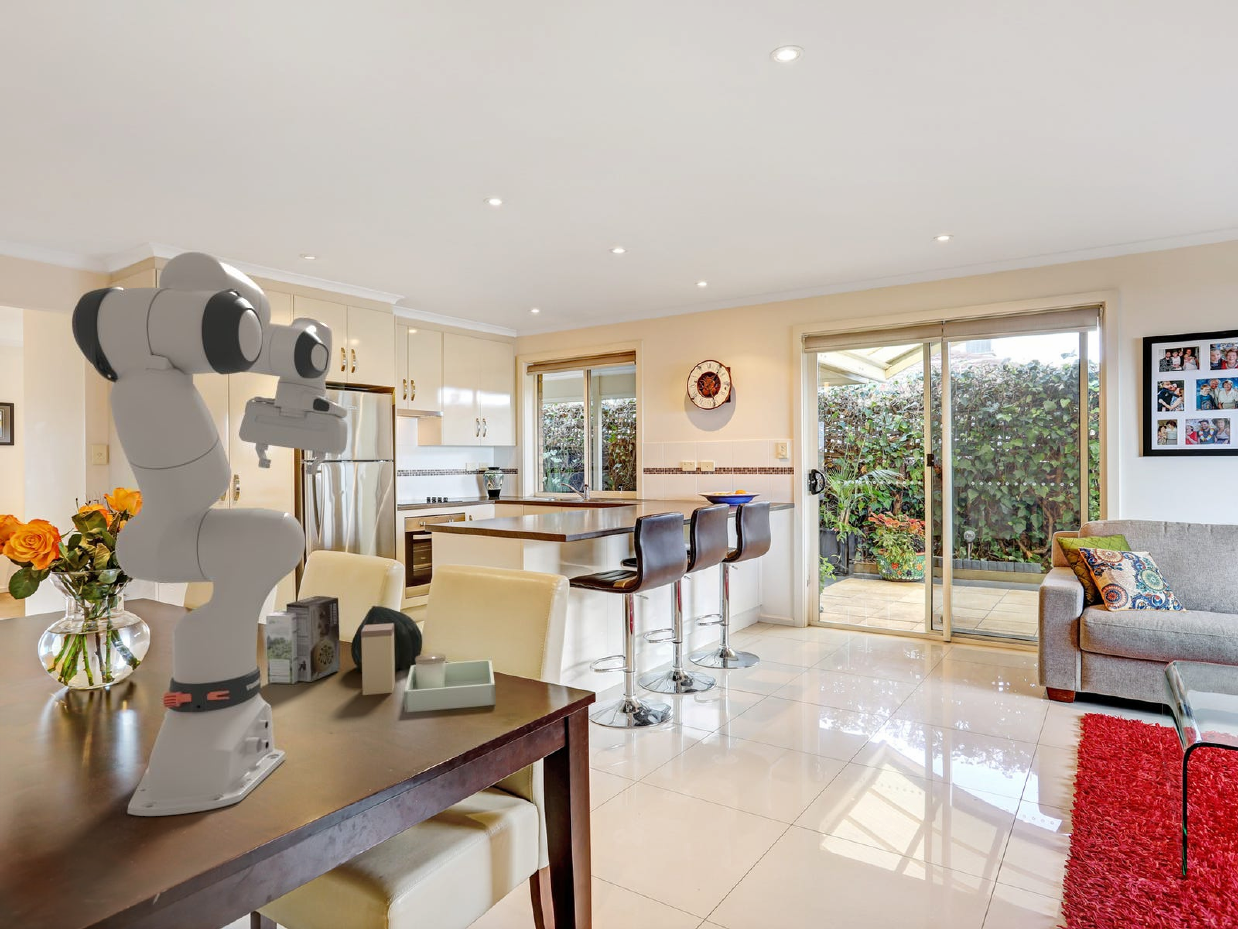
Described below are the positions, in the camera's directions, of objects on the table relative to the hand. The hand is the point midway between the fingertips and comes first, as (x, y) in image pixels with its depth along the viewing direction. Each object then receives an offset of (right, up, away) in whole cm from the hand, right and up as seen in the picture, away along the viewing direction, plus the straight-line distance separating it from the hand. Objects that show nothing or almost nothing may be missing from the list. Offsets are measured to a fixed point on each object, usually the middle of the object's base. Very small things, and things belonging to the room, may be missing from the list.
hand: (287, 471), depth 141 cm
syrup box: (-5, -44, +11) cm, 46 cm away
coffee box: (0, -44, +14) cm, 46 cm away
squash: (+14, -44, +17) cm, 49 cm away
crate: (+33, -44, -2) cm, 55 cm away
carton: (+18, -44, +1) cm, 47 cm away
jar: (+28, -43, +2) cm, 51 cm away
